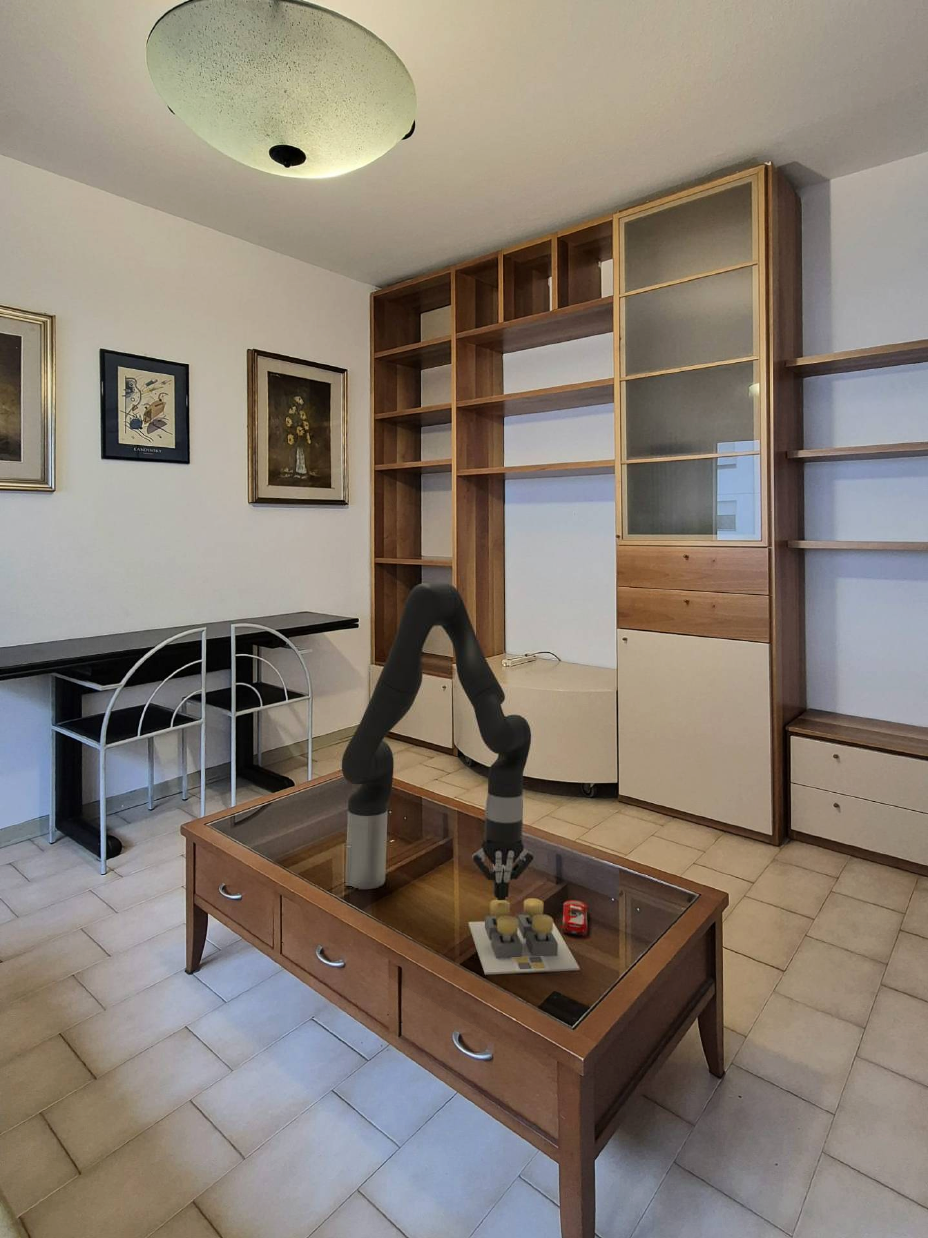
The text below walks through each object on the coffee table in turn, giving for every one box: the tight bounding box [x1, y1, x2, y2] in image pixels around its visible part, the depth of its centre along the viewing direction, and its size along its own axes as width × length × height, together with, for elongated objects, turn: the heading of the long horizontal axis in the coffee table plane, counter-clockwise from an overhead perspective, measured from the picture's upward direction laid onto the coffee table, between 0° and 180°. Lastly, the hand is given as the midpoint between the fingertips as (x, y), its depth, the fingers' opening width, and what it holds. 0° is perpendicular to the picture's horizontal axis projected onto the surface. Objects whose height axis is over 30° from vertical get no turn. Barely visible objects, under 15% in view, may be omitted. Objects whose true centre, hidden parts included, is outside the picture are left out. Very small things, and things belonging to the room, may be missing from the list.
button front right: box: [532, 913, 554, 941], centre depth 138 cm, size 4×4×4 cm
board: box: [467, 914, 581, 975], centre depth 140 cm, size 18×19×3 cm
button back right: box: [523, 897, 544, 924], centre depth 145 cm, size 4×4×4 cm
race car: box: [561, 899, 589, 936], centre depth 150 cm, size 13×5×4 cm, turn 169°
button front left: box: [497, 915, 518, 943], centre depth 137 cm, size 4×4×4 cm
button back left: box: [489, 899, 511, 925], centre depth 143 cm, size 4×4×4 cm
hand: (500, 898), depth 143 cm, fingers closed
